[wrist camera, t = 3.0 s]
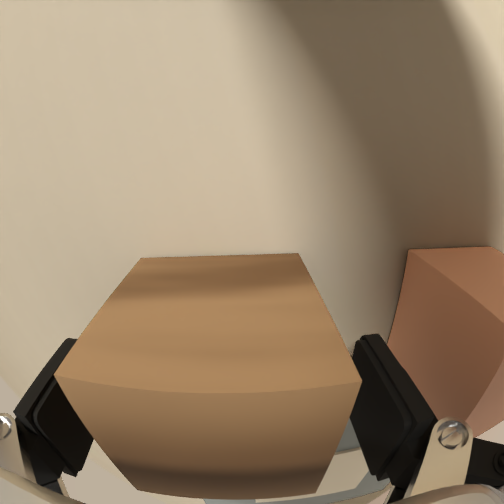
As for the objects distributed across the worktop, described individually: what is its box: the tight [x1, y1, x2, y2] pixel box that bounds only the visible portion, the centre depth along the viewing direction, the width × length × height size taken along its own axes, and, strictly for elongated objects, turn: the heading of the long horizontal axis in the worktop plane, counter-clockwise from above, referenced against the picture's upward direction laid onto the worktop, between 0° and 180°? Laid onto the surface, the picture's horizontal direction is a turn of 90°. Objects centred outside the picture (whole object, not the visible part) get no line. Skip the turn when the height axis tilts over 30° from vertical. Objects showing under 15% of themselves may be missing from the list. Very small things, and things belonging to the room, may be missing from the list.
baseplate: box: [204, 418, 390, 504], centre depth 14 cm, size 16×16×1 cm
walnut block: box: [54, 253, 362, 500], centre depth 8 cm, size 6×6×6 cm
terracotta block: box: [387, 246, 504, 438], centre depth 8 cm, size 6×6×6 cm
